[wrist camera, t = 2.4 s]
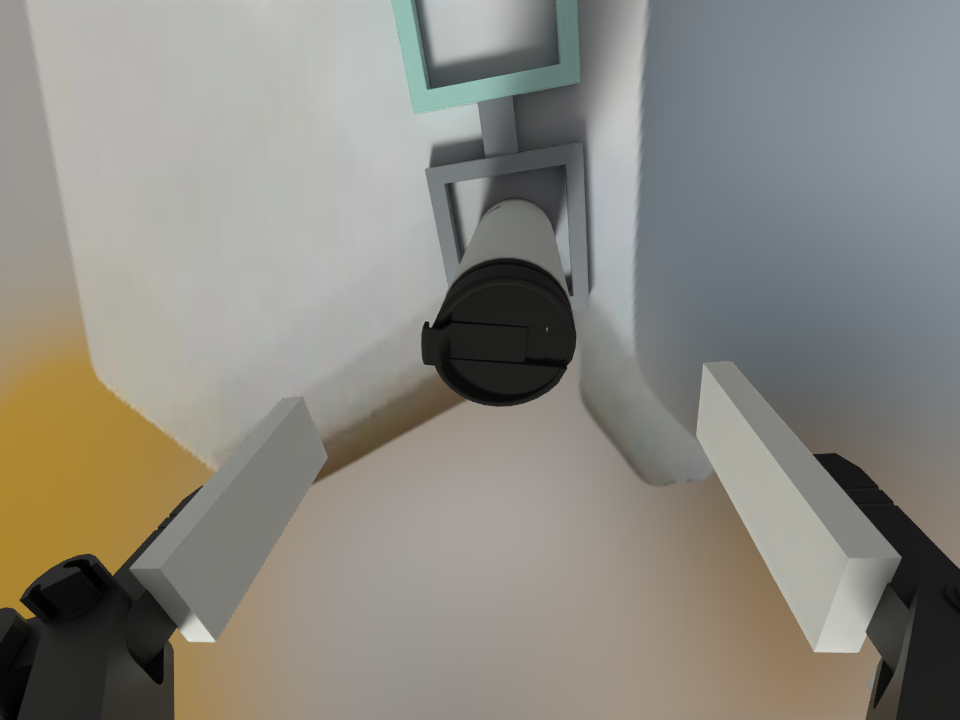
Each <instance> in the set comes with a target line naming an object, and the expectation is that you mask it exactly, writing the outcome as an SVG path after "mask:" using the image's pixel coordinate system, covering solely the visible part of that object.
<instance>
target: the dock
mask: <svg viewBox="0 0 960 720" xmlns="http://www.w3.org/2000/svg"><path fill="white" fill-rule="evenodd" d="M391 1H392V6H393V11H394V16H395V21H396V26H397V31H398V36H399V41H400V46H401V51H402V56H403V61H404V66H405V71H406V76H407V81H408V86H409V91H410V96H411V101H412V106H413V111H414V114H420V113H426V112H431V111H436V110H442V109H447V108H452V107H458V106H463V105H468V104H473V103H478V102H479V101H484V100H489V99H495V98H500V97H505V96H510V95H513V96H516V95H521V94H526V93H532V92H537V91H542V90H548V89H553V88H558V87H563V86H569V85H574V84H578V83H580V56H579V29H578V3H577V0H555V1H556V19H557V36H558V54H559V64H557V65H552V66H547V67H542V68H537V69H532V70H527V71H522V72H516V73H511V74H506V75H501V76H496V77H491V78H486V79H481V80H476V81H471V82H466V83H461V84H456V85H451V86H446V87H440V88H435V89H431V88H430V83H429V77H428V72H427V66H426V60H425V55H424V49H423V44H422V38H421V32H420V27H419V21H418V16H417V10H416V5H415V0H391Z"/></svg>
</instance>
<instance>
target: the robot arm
mask: <svg viewBox="0 0 960 720" xmlns="http://www.w3.org/2000/svg"><path fill="white" fill-rule="evenodd" d="M696 436H697V438H698V440H699V442H700V444H701V446H702V447H703V449H704V451H705V453H706V455H707V457H708V458H709V460H710V462H711V464H712V466H713V468H714V469H715V471H716V473H717V475H718V477H719V478H720V480H721V482H722V484H723V486H724V488H725V489H726V491H727V493H728V495H729V496H730V498H731V500H732V502H733V504H734V506H735V508H736V510H737V512H738V513H739V515H740V517H741V518H742V521H743V522H744V524H745V526H746V528H747V530H748V531H749V533H750V535H751V537H752V539H753V541H754V543H755V544H756V546H757V548H758V550H759V552H760V554H761V555H762V557H763V559H764V561H765V563H766V564H767V566H768V568H769V570H770V572H771V574H772V575H773V577H774V579H775V581H776V583H777V585H778V587H779V588H780V590H781V592H782V594H783V596H784V598H785V599H786V601H787V603H788V605H789V607H790V609H791V610H792V612H793V614H794V616H795V617H796V620H797V621H798V623H799V625H800V627H801V629H802V631H803V632H804V634H805V636H806V638H807V640H808V641H809V643H810V645H811V647H812V649H813V651H814V652H845V653H847V652H848V653H858V652H859V650H860V648H861V646H862V644H863V642H864V639H865V637H866V635H868V637H869V638H870V640H871V641H872V643H873V644H874V646H875V647H876V649H877V650H878V652H879V653H880V655H881V656H882V658H881V660H880V662H879V664H878V666H877V668H876V670H875V672H874V673H873V676H872V677H871V679H870V681H869V683H868V686H867V687H868V688H869V689H871V690H872V693H871V698H870V702H869V706H868V711H867V715H866V720H960V569H959V568H958V567H957V566H956V565H955V564H954V563H953V562H952V561H951V560H950V559H949V558H948V557H947V556H946V555H945V554H944V553H943V552H942V551H941V550H940V549H939V548H938V547H937V546H936V545H935V544H934V543H933V542H932V541H931V540H930V539H929V538H928V537H927V536H926V535H925V534H924V533H923V532H922V530H921V529H920V528H918V526H917V525H916V524H915V523H914V522H913V521H912V520H911V519H910V518H908V516H907V515H906V514H904V512H903V511H902V510H901V509H900V508H899V507H898V506H895V505H894V504H893V501H892V500H891V499H890V498H889V497H888V496H887V495H886V494H885V493H884V492H883V491H882V490H879V488H878V486H877V484H875V482H874V481H873V480H871V478H870V477H869V476H868V475H867V474H866V473H865V472H864V471H863V470H862V469H861V468H860V467H858V466H856V465H855V464H853V463H851V462H849V461H848V460H846V459H844V458H843V457H841V456H840V455H838V454H836V453H829V454H811V452H810V451H809V450H808V449H807V448H806V447H805V446H804V444H803V443H802V442H801V441H800V440H799V439H798V438H797V436H796V435H795V434H794V433H793V432H792V431H791V429H790V428H789V427H788V426H787V425H786V424H785V423H784V421H783V420H782V419H781V418H780V417H779V416H778V414H777V413H776V412H775V411H774V410H773V409H772V408H771V406H770V405H769V404H768V403H767V402H766V401H765V400H764V398H763V397H762V396H761V395H760V394H759V393H758V392H757V391H756V389H755V388H754V387H753V386H752V385H751V383H750V382H749V381H748V380H747V379H746V378H745V377H744V375H743V374H742V373H741V372H740V371H739V370H738V368H736V366H735V365H734V364H733V363H732V362H731V361H725V362H712V363H703V373H702V383H701V393H700V403H699V413H698V423H697V433H696ZM327 458H328V457H327V454H326V452H325V449H324V447H323V445H322V442H321V440H320V437H319V435H318V432H317V430H316V428H315V425H314V423H313V420H312V418H311V416H310V413H309V411H308V408H307V406H306V404H305V401H304V399H303V397H292V398H282V400H281V401H280V402H279V403H278V404H277V405H276V406H275V407H274V408H273V410H272V411H271V412H270V413H269V414H268V415H267V416H266V417H265V418H264V420H263V421H262V422H261V423H260V424H259V425H258V426H257V427H256V428H255V430H254V431H253V432H252V433H251V434H250V435H249V436H248V437H247V438H246V439H245V441H244V442H243V443H242V444H241V445H240V446H239V447H238V448H237V449H236V451H235V452H234V453H233V454H232V455H231V456H230V457H229V458H228V459H227V461H226V462H225V463H224V464H223V465H222V466H221V467H220V468H219V469H218V471H217V472H216V473H215V474H214V475H213V476H212V477H211V478H210V479H209V481H208V482H207V483H206V484H205V485H204V486H201V487H200V488H198V489H197V490H195V491H194V492H193V493H191V494H190V495H189V496H187V497H186V498H185V499H183V500H182V501H181V503H180V504H179V505H178V506H177V507H176V508H175V509H174V510H173V511H172V512H171V513H170V516H169V518H166V519H165V520H164V521H163V522H162V523H161V524H160V525H159V526H158V530H155V531H154V532H153V533H152V534H151V535H150V536H149V537H148V538H147V539H146V541H145V542H144V543H143V544H142V545H141V546H140V547H139V548H138V549H137V550H136V552H134V553H133V555H132V556H131V557H130V558H129V559H128V560H127V561H126V562H125V563H124V564H123V565H122V566H121V568H120V569H119V570H118V571H117V572H116V573H115V574H114V575H113V576H112V575H111V573H110V572H109V571H108V570H107V569H106V568H105V567H104V565H103V564H102V563H101V562H100V561H99V560H98V559H97V557H96V556H94V555H91V554H84V555H78V556H75V557H72V558H70V559H67V560H65V561H63V562H61V563H59V564H58V565H56V566H54V567H52V568H51V569H49V570H48V571H47V572H46V573H44V574H42V575H41V576H40V577H39V578H37V579H36V580H35V581H34V582H33V583H32V584H31V585H30V586H29V587H28V588H27V589H26V590H25V592H24V594H23V595H22V597H21V599H20V601H21V602H22V603H23V604H24V605H25V606H26V607H27V608H28V609H29V610H30V611H31V612H32V613H34V614H35V615H36V617H33V618H30V619H25V618H23V617H22V616H21V615H20V614H19V613H18V612H17V611H16V610H15V609H12V608H7V607H6V608H2V609H0V720H174V651H173V648H172V645H171V643H170V642H169V641H168V639H169V638H170V636H171V635H172V634H173V632H174V631H175V629H176V628H178V629H179V630H180V632H181V633H182V634H183V635H184V636H185V638H186V639H187V640H188V641H190V642H217V640H218V638H219V637H220V635H221V633H222V632H223V630H224V628H225V627H226V625H227V623H228V622H229V620H230V618H231V617H232V615H233V614H234V612H235V610H236V609H237V607H238V605H239V604H240V602H241V600H242V599H243V597H244V595H245V594H246V592H247V590H248V589H249V587H250V585H251V584H252V582H253V580H254V579H255V577H256V575H257V574H258V572H259V570H260V569H261V567H262V565H263V564H264V562H265V560H266V559H267V557H268V556H269V554H270V552H271V550H272V549H273V547H274V545H275V544H276V542H277V540H278V539H279V537H280V536H281V534H282V532H283V531H284V529H285V527H286V526H287V524H288V522H289V521H290V519H291V517H292V516H293V514H294V512H295V511H296V509H297V507H298V506H299V504H300V502H301V501H302V499H303V497H304V496H305V494H306V492H307V491H308V489H309V488H310V486H311V484H312V483H313V481H314V479H315V478H316V476H317V474H318V473H319V471H320V469H321V468H322V466H323V464H324V463H325V461H326V459H327Z"/></svg>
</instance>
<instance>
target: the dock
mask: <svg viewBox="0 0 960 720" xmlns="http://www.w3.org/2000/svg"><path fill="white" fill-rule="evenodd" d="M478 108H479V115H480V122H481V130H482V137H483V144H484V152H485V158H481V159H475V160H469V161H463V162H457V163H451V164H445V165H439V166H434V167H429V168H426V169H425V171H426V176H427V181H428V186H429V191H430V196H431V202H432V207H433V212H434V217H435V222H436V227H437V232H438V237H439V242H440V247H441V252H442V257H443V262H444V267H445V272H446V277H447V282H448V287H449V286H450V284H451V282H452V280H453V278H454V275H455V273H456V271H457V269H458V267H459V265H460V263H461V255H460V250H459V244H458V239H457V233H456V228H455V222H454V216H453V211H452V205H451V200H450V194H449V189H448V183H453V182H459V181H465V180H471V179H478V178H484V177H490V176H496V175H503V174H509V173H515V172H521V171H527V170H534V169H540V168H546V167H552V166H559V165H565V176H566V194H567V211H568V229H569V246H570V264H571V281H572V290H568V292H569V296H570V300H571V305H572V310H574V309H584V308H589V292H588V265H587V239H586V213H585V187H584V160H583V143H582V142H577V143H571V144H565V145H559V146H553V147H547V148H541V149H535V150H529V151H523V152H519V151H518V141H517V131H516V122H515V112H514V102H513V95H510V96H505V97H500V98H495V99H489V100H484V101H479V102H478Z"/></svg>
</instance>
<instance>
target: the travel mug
mask: <svg viewBox="0 0 960 720" xmlns="http://www.w3.org/2000/svg"><path fill="white" fill-rule="evenodd" d="M421 347H422V359H423V363H424V364H425V365H434V366H435V368H436V370H437V372H438V373H439V375H440V377H441V378H442V380H443V381H444V382H445V383H446V384H447V385H448V386H449V387H450V388H451V389H452V390H453V391H455V392H456V393H457V394H459V395H460V396H462V397H464V398H466V399H468V400H470V401H472V402H476V403H479V404H483V405H489V406H497V407H499V406H513V405H518V404H523V403H526V402H529V401H531V400H534V399H537V398H538V397H540V396H542V395H543V394H545V393H547V392H548V391H549V390H551V389H552V388H553V387H554V386H556V385H557V384H558V383H559V381H560V379H561V378H562V376H563V374H564V373H565V371H566V369H567V365H568V364H569V363H570V361H571V360H572V358H573V354H574V351H575V347H576V330H575V325H574V319H573V311H572V305H571V300H570V296H569V292H568V288H567V284H566V280H565V276H564V272H563V268H562V264H561V260H560V255H559V251H558V247H557V243H556V239H555V235H554V231H553V227H552V224H551V222H550V219H549V218H548V216H547V214H546V213H545V212H544V211H543V210H542V209H541V208H540V207H539V206H538V205H536V204H535V203H533V202H531V201H528V200H525V199H520V198H512V199H506V200H503V201H500V202H498V203H496V204H495V205H493V206H492V207H491V208H489V209H488V210H487V212H486V213H485V214H484V215H483V217H482V218H481V220H480V222H479V224H478V226H477V228H476V231H475V233H474V235H473V237H472V239H471V241H470V243H469V246H468V248H467V250H466V252H465V254H464V256H463V258H462V260H461V263H460V265H459V267H458V269H457V271H456V273H455V275H454V278H453V280H452V282H451V284H450V286H449V289H448V290H447V292H446V295H445V298H444V301H443V304H442V307H441V309H440V311H439V313H438V316H437V318H436V320H435V322H434V324H433V326H432V328H430V327H429V322H425V323H424V326H423V329H422V340H421Z"/></svg>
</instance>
